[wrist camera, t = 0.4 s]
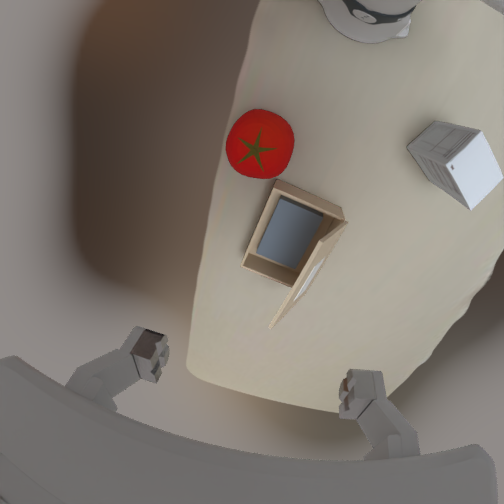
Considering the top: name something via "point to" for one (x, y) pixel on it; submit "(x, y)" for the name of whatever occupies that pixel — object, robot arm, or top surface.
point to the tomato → (260, 144)
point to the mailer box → (289, 232)
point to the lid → (309, 271)
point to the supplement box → (457, 161)
